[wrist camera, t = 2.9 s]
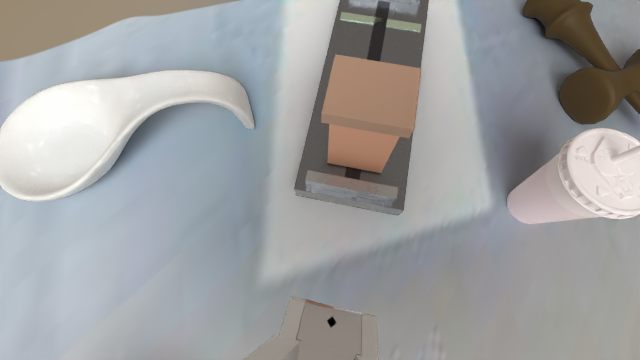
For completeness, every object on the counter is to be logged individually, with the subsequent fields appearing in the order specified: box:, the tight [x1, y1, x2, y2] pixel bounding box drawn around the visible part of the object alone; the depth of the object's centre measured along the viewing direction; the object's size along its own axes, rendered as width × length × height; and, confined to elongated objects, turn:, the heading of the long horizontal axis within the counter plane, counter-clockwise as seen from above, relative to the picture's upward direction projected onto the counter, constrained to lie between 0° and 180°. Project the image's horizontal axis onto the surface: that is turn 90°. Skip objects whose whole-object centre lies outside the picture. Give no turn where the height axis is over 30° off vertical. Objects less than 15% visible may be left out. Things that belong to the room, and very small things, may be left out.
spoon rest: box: [0, 70, 255, 201], centre depth 29 cm, size 24×12×7 cm, turn 107°
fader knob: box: [321, 54, 421, 173], centre depth 25 cm, size 5×6×9 cm
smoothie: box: [507, 128, 640, 224], centre depth 23 cm, size 6×6×14 cm
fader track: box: [294, 0, 429, 215], centre depth 33 cm, size 26×10×4 cm, turn 168°
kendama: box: [523, 0, 640, 124], centre depth 33 cm, size 6×10×20 cm
